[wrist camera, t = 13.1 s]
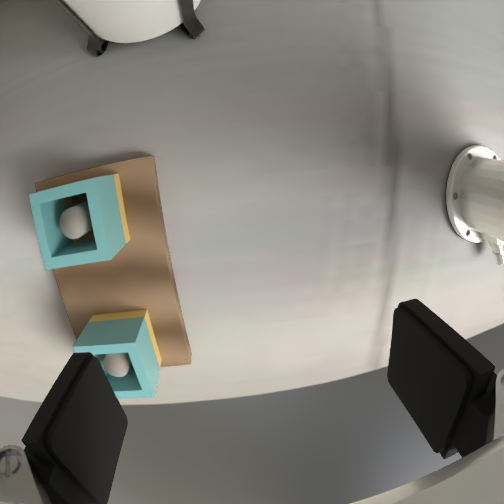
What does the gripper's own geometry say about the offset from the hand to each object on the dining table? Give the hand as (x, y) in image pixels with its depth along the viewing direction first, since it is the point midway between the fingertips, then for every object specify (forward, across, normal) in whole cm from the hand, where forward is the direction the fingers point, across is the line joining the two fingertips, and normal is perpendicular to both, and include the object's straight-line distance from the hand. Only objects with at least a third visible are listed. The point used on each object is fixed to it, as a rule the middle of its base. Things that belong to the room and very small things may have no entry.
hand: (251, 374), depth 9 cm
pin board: (+21, +12, +3) cm, 25 cm away
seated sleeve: (+19, +12, -4) cm, 23 cm away
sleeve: (+19, +12, +9) cm, 25 cm away
